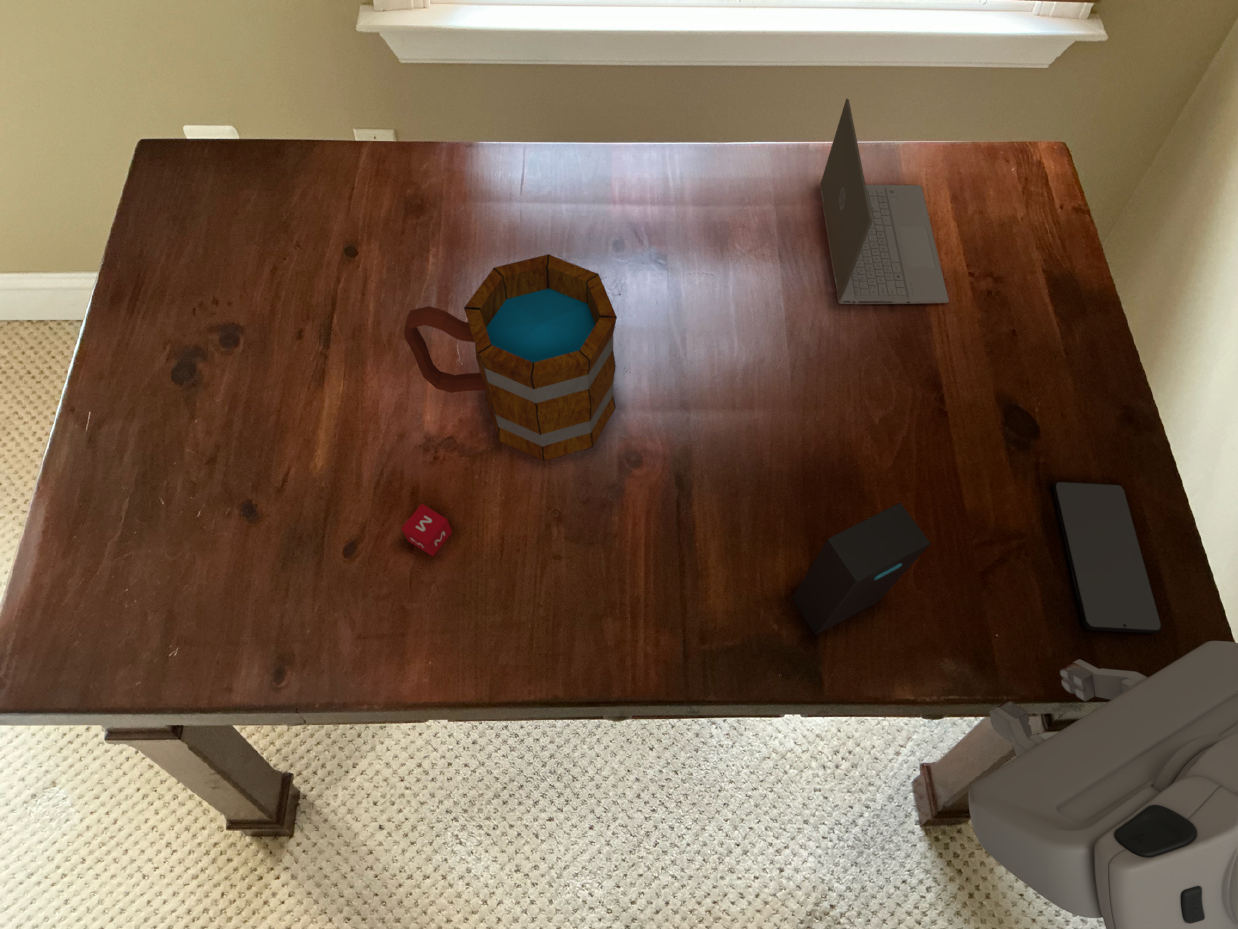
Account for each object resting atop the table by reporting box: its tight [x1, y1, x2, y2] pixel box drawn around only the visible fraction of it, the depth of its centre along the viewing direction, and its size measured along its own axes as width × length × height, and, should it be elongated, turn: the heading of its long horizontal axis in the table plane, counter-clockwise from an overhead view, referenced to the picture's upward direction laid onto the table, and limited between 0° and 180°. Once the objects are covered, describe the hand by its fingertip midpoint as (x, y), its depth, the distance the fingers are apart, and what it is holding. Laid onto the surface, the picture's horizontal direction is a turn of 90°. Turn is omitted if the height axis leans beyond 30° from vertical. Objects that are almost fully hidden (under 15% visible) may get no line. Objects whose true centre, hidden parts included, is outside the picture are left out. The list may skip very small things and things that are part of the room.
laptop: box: [819, 98, 950, 305], centre depth 91 cm, size 18×12×13 cm
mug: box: [403, 254, 618, 462], centre depth 79 cm, size 20×14×15 cm
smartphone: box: [1052, 481, 1162, 634], centre depth 78 cm, size 7×1×15 cm
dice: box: [401, 503, 453, 557], centre depth 77 cm, size 3×3×3 cm
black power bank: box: [791, 502, 931, 636], centre depth 70 cm, size 4×7×14 cm, turn 117°
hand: (1034, 693), depth 53 cm, fingers open, 4 cm apart
